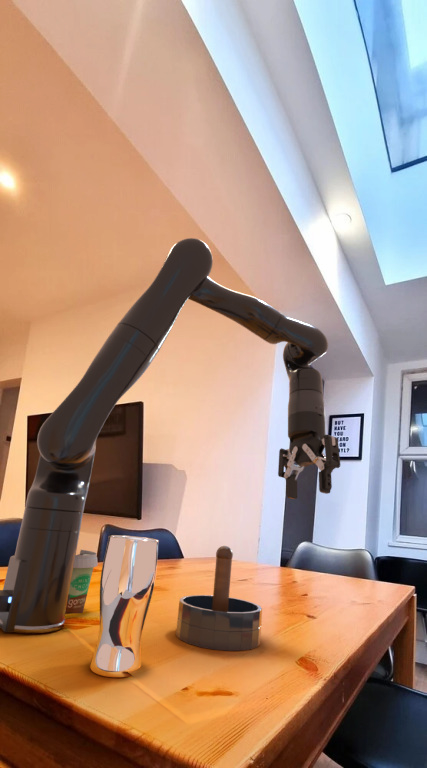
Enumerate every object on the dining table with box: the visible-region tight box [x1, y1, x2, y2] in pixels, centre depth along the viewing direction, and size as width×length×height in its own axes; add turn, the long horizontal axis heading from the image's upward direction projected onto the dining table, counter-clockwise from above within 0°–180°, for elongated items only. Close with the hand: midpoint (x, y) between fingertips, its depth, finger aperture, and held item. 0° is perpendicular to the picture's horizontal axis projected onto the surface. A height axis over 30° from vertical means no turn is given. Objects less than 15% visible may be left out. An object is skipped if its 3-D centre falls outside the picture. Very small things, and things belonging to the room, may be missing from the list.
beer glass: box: [89, 534, 160, 678], centre depth 54 cm, size 7×7×15 cm
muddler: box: [212, 545, 234, 612], centre depth 69 cm, size 4×4×14 cm
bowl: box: [175, 594, 263, 652], centre depth 67 cm, size 13×13×6 cm
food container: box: [65, 549, 99, 615], centre depth 76 cm, size 12×6×10 cm, turn 167°
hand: (307, 495), depth 80 cm, fingers open, 8 cm apart
